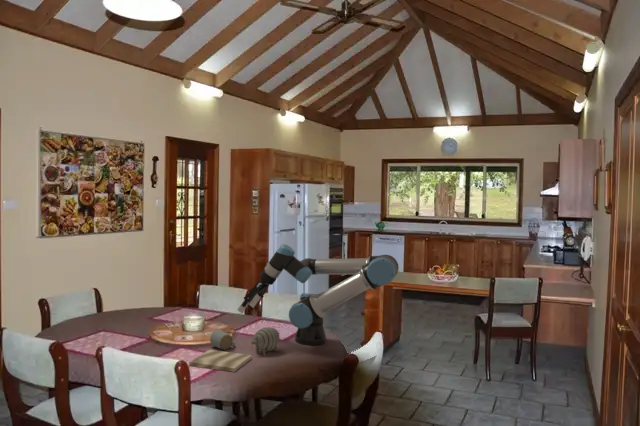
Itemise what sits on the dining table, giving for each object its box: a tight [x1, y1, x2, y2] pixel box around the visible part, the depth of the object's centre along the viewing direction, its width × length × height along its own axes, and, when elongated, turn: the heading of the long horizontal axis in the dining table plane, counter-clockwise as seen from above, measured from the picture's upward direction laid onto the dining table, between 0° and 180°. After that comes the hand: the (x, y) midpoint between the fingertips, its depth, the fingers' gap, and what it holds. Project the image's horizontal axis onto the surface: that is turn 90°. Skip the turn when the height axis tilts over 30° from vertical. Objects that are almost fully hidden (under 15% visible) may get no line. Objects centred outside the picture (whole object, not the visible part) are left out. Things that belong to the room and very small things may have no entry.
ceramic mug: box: [209, 329, 236, 351], centre depth 246 cm, size 11×8×8 cm
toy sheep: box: [250, 326, 281, 356], centre depth 242 cm, size 11×17×11 cm, turn 147°
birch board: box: [188, 349, 253, 373], centre depth 226 cm, size 20×18×2 cm
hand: (245, 308), depth 256 cm, fingers open, 13 cm apart
